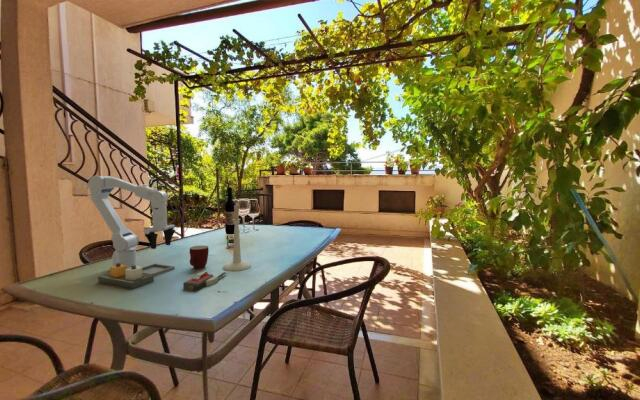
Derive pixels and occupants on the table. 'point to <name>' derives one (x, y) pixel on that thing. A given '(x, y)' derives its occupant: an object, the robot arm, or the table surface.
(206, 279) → the walkie-talkie
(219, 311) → the table surface
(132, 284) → the open box
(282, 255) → the table surface
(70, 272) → the table surface
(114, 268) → the plug
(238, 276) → the table surface
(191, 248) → the mug
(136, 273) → the twin plug
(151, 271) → the tray
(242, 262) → the candlestick
